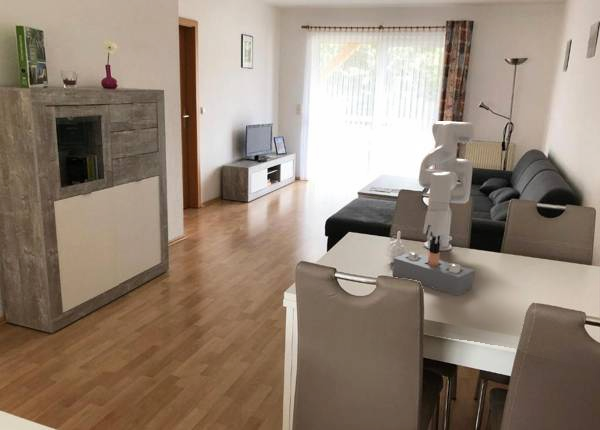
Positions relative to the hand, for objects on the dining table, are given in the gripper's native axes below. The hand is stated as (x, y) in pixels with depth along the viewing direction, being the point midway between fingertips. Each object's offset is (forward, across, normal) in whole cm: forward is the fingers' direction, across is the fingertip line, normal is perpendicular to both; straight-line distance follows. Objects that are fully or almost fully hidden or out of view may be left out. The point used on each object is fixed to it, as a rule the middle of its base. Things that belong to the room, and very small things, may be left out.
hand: (434, 252), depth 192 cm
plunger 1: (+11, 0, -9) cm, 14 cm away
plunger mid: (+8, 0, 0) cm, 8 cm away
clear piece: (+11, 0, +9) cm, 14 cm away
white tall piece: (+12, -7, -22) cm, 26 cm away
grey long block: (+12, 0, 0) cm, 12 cm away
